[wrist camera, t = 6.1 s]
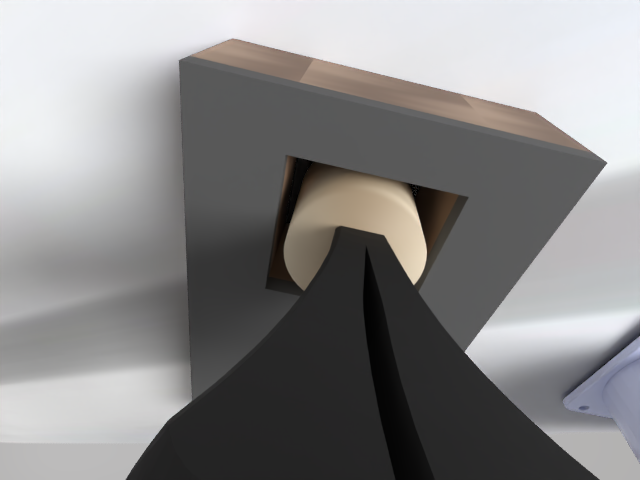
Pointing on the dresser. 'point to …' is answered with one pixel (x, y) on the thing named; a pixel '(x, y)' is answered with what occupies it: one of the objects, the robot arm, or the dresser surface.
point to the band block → (363, 156)
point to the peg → (351, 219)
